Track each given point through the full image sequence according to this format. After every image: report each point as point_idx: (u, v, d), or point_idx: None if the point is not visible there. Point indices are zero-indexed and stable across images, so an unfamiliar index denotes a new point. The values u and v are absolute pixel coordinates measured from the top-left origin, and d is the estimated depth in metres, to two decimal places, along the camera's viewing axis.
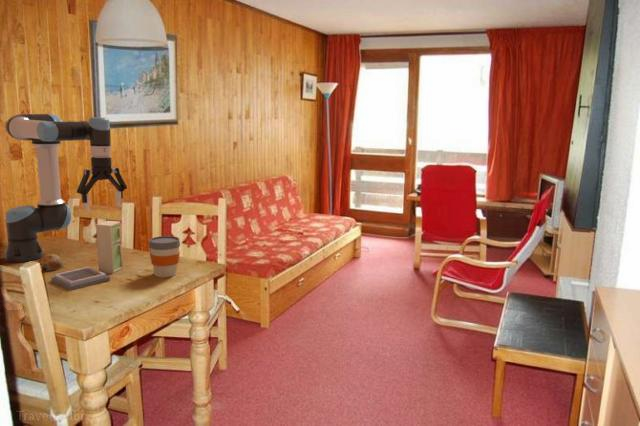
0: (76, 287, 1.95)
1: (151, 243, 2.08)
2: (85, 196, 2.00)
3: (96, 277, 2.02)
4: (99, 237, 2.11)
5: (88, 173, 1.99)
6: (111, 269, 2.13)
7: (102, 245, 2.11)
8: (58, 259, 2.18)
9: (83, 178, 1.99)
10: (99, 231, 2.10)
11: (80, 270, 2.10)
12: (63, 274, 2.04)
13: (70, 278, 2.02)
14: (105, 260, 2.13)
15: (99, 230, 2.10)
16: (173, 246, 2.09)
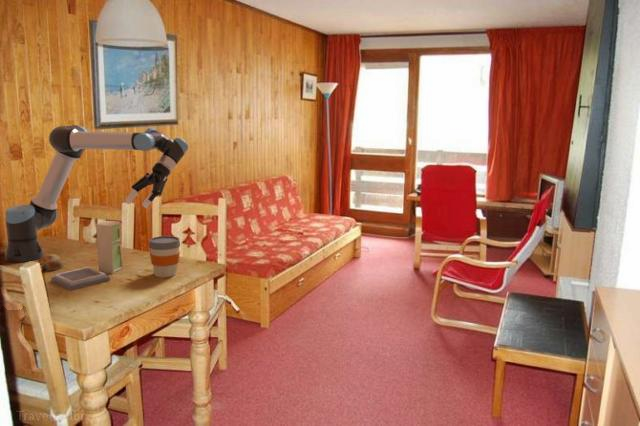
0: (76, 287, 1.95)
1: (151, 243, 2.08)
2: None
3: (96, 277, 2.02)
4: (99, 237, 2.11)
5: None
6: (111, 269, 2.13)
7: (102, 245, 2.11)
8: (58, 259, 2.17)
9: (162, 183, 2.22)
10: (99, 231, 2.10)
11: (80, 270, 2.10)
12: (63, 274, 2.04)
13: (70, 278, 2.02)
14: (105, 260, 2.13)
15: (99, 230, 2.10)
16: (173, 246, 2.09)
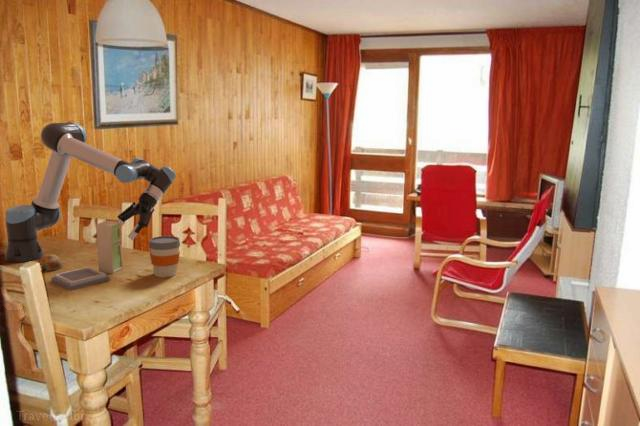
0: (76, 287, 1.95)
1: (151, 243, 2.08)
2: None
3: (96, 277, 2.02)
4: (99, 237, 2.11)
5: None
6: (111, 269, 2.13)
7: (102, 245, 2.11)
8: (58, 259, 2.17)
9: (149, 214, 2.18)
10: (99, 231, 2.10)
11: (80, 270, 2.10)
12: (63, 274, 2.04)
13: (70, 278, 2.02)
14: (105, 260, 2.13)
15: (99, 230, 2.10)
16: (173, 246, 2.09)
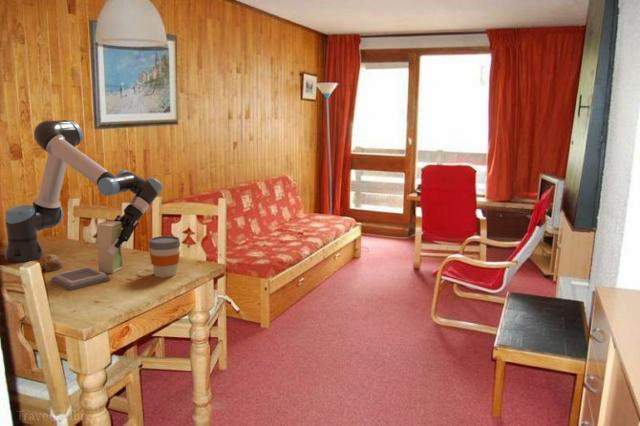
0: (76, 287, 1.95)
1: (151, 243, 2.08)
2: None
3: (96, 277, 2.02)
4: (100, 237, 2.11)
5: None
6: (111, 269, 2.13)
7: (103, 245, 2.11)
8: (57, 259, 2.17)
9: (131, 228, 2.14)
10: (99, 231, 2.10)
11: (80, 270, 2.10)
12: (63, 274, 2.04)
13: (70, 278, 2.02)
14: (105, 260, 2.13)
15: (100, 230, 2.10)
16: (173, 246, 2.09)
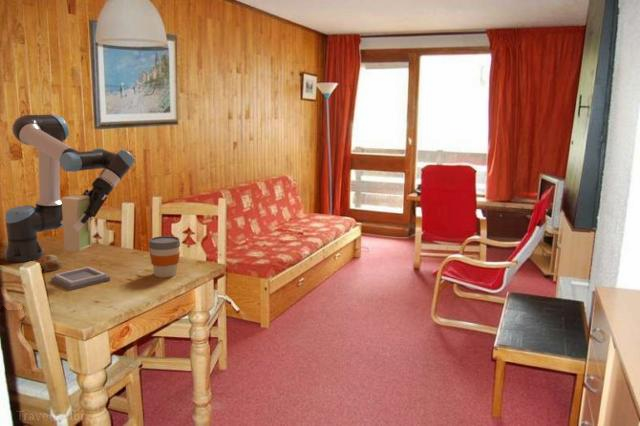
0: (76, 287, 1.95)
1: (151, 243, 2.08)
2: None
3: (96, 277, 2.02)
4: (65, 212, 1.95)
5: None
6: (77, 247, 1.97)
7: (68, 221, 1.96)
8: (56, 259, 2.17)
9: (99, 202, 1.98)
10: (64, 205, 1.94)
11: (80, 270, 2.10)
12: (63, 274, 2.04)
13: (70, 278, 2.02)
14: (71, 237, 1.97)
15: (64, 204, 1.94)
16: (173, 246, 2.09)
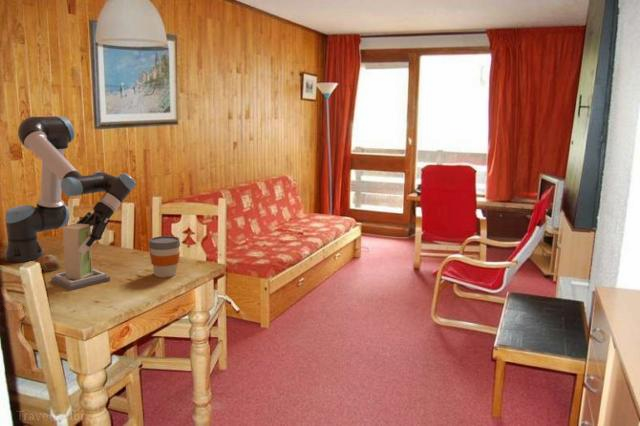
0: (76, 287, 1.95)
1: (151, 243, 2.08)
2: None
3: (96, 277, 2.02)
4: (66, 241, 1.98)
5: None
6: (79, 275, 1.99)
7: (69, 250, 1.98)
8: (55, 260, 2.17)
9: (103, 225, 2.00)
10: (65, 234, 1.97)
11: None
12: (63, 274, 2.04)
13: None
14: (72, 266, 1.99)
15: (66, 234, 1.97)
16: (173, 246, 2.09)
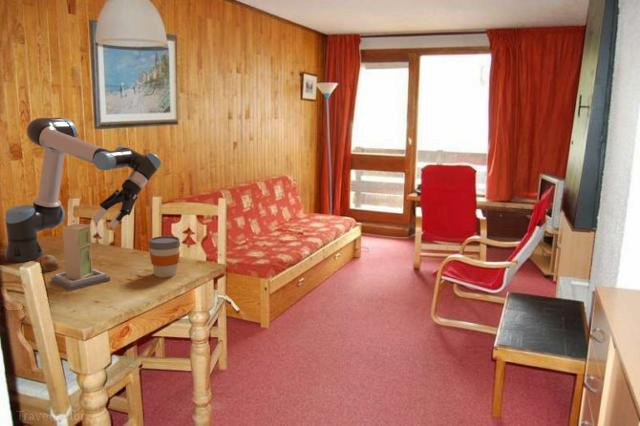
0: (76, 287, 1.95)
1: (151, 243, 2.08)
2: None
3: (96, 277, 2.02)
4: (66, 241, 1.98)
5: None
6: (79, 275, 1.99)
7: (69, 250, 1.98)
8: (55, 260, 2.16)
9: (132, 201, 2.08)
10: (65, 235, 1.97)
11: None
12: (63, 274, 2.04)
13: None
14: (72, 266, 1.99)
15: (65, 234, 1.97)
16: (173, 246, 2.09)
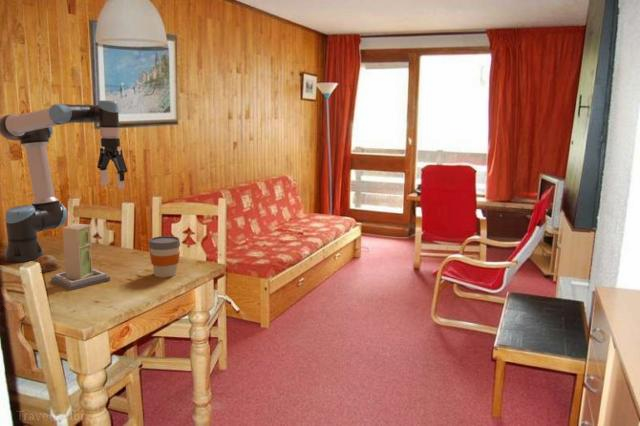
0: (76, 287, 1.95)
1: (151, 243, 2.08)
2: None
3: (96, 277, 2.02)
4: (66, 241, 1.98)
5: None
6: (79, 275, 1.99)
7: (69, 250, 1.98)
8: (54, 260, 2.16)
9: (120, 158, 2.13)
10: (65, 235, 1.97)
11: None
12: (63, 274, 2.04)
13: None
14: (72, 266, 1.99)
15: (65, 234, 1.97)
16: (173, 246, 2.09)
